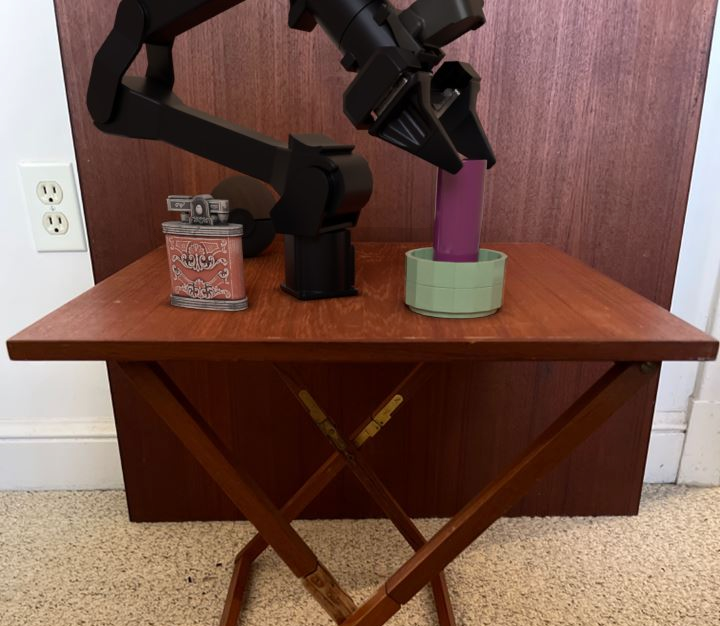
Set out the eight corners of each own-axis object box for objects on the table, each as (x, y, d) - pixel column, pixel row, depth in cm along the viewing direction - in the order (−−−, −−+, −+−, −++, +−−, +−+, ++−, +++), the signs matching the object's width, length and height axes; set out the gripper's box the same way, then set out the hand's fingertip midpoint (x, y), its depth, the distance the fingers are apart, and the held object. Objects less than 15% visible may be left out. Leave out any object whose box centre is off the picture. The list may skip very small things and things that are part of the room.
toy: (205, 263, 89) (197, 178, 85) (213, 251, 98) (207, 173, 93) (279, 262, 90) (275, 178, 85) (281, 250, 99) (277, 173, 94)
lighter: (254, 304, 69) (247, 194, 64) (238, 312, 66) (229, 197, 61) (182, 298, 71) (171, 192, 66) (164, 305, 68) (150, 194, 64)
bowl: (436, 323, 62) (440, 266, 60) (387, 302, 70) (388, 250, 67) (522, 313, 66) (528, 258, 64) (465, 294, 73) (469, 244, 71)
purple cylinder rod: (420, 301, 68) (426, 159, 62) (448, 294, 70) (456, 157, 65) (457, 309, 65) (467, 160, 59) (484, 301, 68) (496, 159, 62)
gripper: (378, -90, 49) (518, 87, 49) (466, -39, 64) (573, 97, 64) (288, 48, 56) (411, 202, 56) (387, 65, 70) (484, 187, 71)
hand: (477, 168), depth 62 cm, fingers open, 9 cm apart
